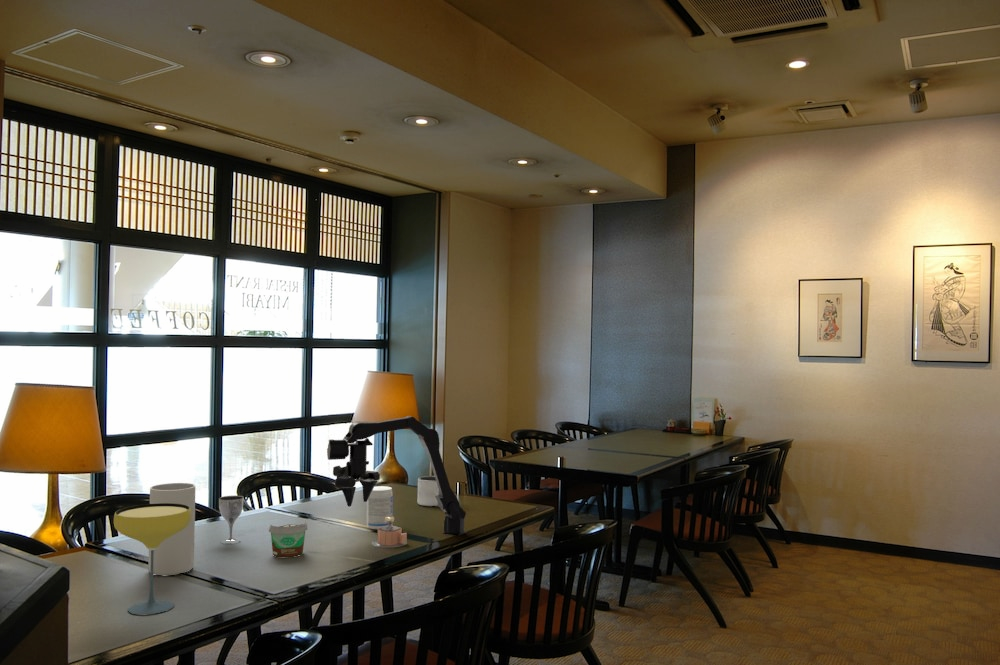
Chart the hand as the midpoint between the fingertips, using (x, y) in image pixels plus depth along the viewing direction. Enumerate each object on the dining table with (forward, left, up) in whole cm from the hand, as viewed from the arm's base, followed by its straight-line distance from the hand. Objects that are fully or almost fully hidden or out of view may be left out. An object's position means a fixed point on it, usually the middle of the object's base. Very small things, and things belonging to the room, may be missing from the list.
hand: (357, 504), depth 270 cm
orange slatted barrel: (-12, -2, -12) cm, 17 cm away
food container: (+8, +25, -13) cm, 29 cm away
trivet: (-12, -2, -13) cm, 18 cm away
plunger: (-12, -2, -12) cm, 17 cm away
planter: (+10, -68, -13) cm, 70 cm away
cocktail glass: (+6, +80, -13) cm, 81 cm away
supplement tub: (+5, -21, -13) cm, 25 cm away
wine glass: (+38, +20, -13) cm, 45 cm away
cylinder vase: (+28, +54, -13) cm, 62 cm away
